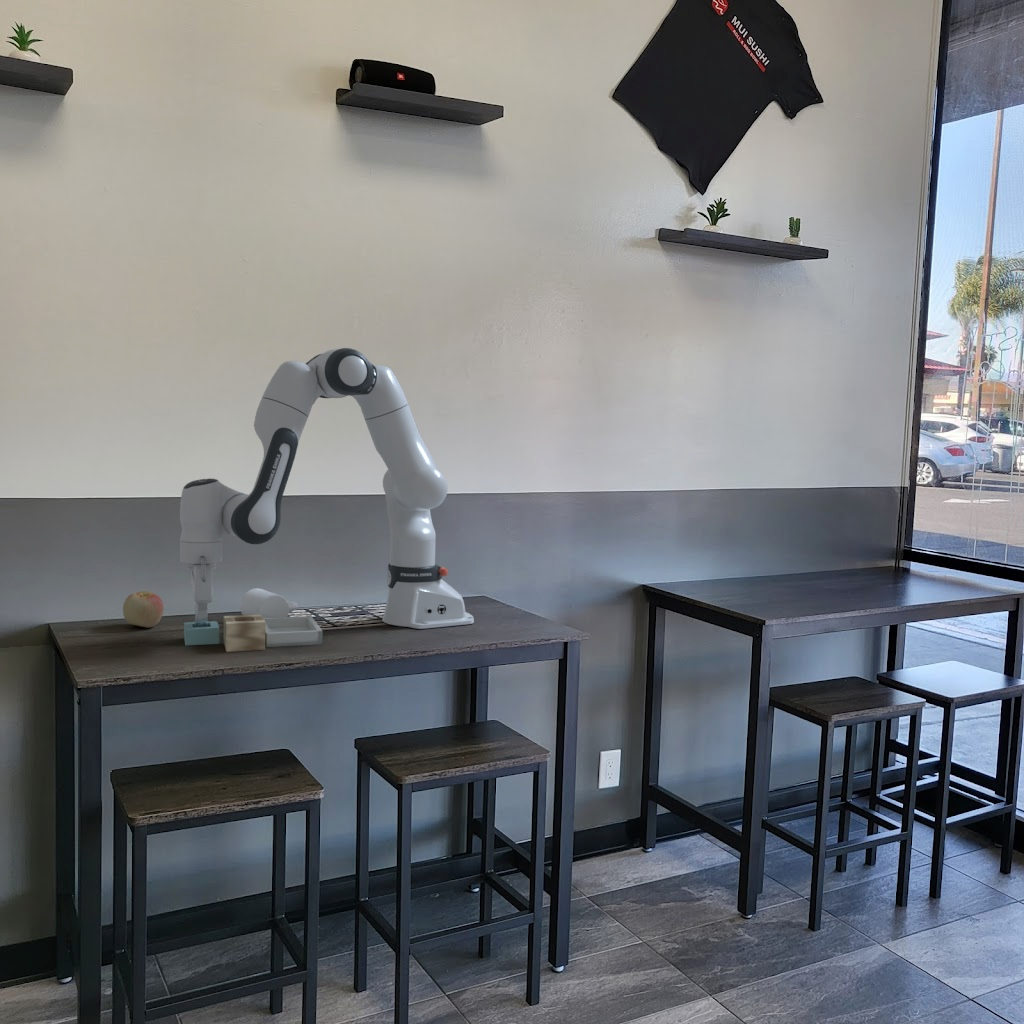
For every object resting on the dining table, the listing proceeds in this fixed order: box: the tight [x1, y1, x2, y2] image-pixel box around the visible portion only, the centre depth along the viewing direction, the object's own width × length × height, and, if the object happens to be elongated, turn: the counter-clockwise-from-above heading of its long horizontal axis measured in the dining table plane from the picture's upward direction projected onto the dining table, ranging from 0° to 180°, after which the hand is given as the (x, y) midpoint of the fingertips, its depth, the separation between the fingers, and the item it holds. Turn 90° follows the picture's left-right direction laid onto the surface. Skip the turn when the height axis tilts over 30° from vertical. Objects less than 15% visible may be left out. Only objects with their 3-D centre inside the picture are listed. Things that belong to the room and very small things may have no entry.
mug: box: [239, 587, 299, 618], centre depth 238 cm, size 12×10×8 cm
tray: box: [263, 615, 323, 648], centre depth 224 cm, size 12×16×3 cm
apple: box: [122, 590, 165, 628], centre depth 230 cm, size 9×9×8 cm
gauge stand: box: [183, 620, 220, 646], centre depth 219 cm, size 7×7×4 cm
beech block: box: [223, 614, 266, 653], centre depth 215 cm, size 8×8×6 cm
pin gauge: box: [194, 601, 209, 627], centre depth 218 cm, size 3×3×12 cm
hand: (201, 615), depth 218 cm, fingers open, 3 cm apart
